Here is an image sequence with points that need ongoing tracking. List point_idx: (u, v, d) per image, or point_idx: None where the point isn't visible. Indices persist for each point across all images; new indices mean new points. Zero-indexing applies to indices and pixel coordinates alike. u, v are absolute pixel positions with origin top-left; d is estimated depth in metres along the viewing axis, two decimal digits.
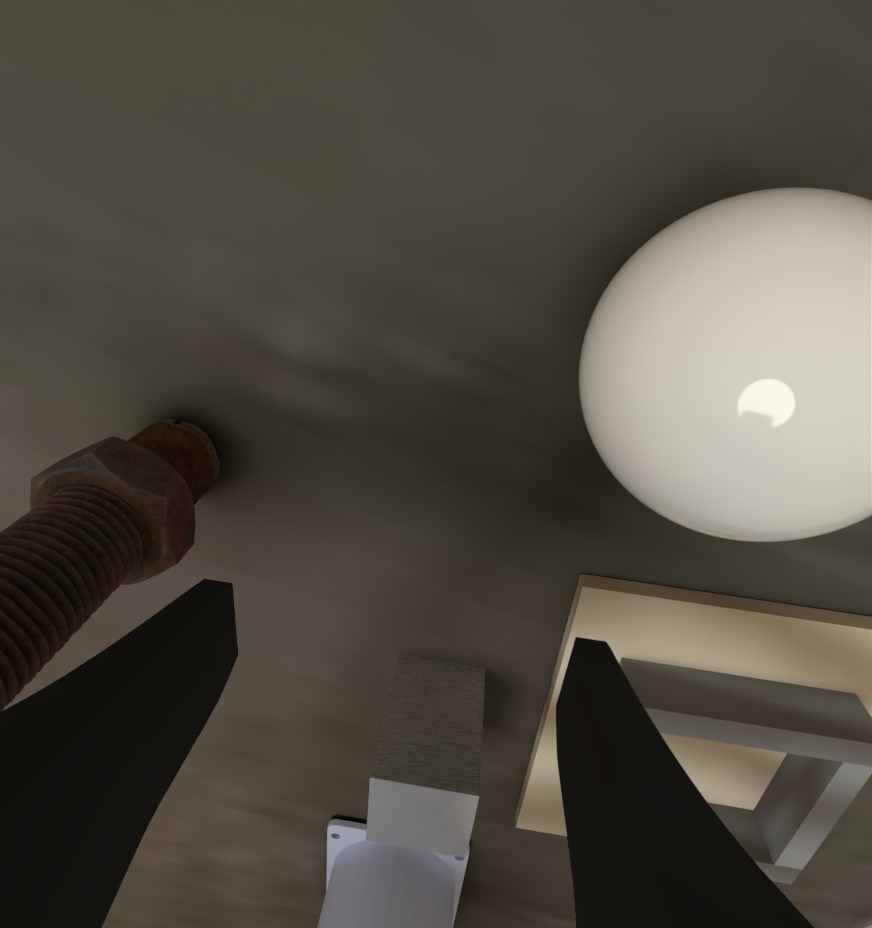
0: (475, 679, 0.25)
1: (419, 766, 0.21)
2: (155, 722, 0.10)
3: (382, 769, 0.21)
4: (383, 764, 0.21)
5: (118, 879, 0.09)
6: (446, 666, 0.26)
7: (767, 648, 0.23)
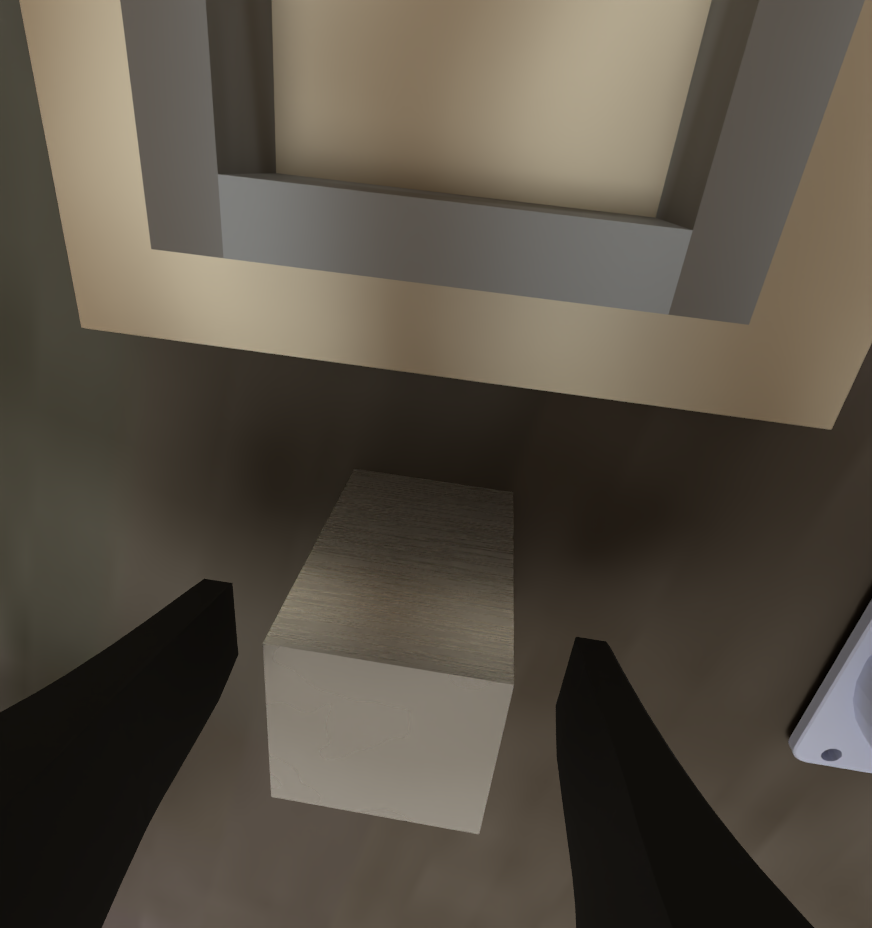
0: None
1: None
2: (155, 722, 0.10)
3: None
4: None
5: (118, 879, 0.09)
6: None
7: None
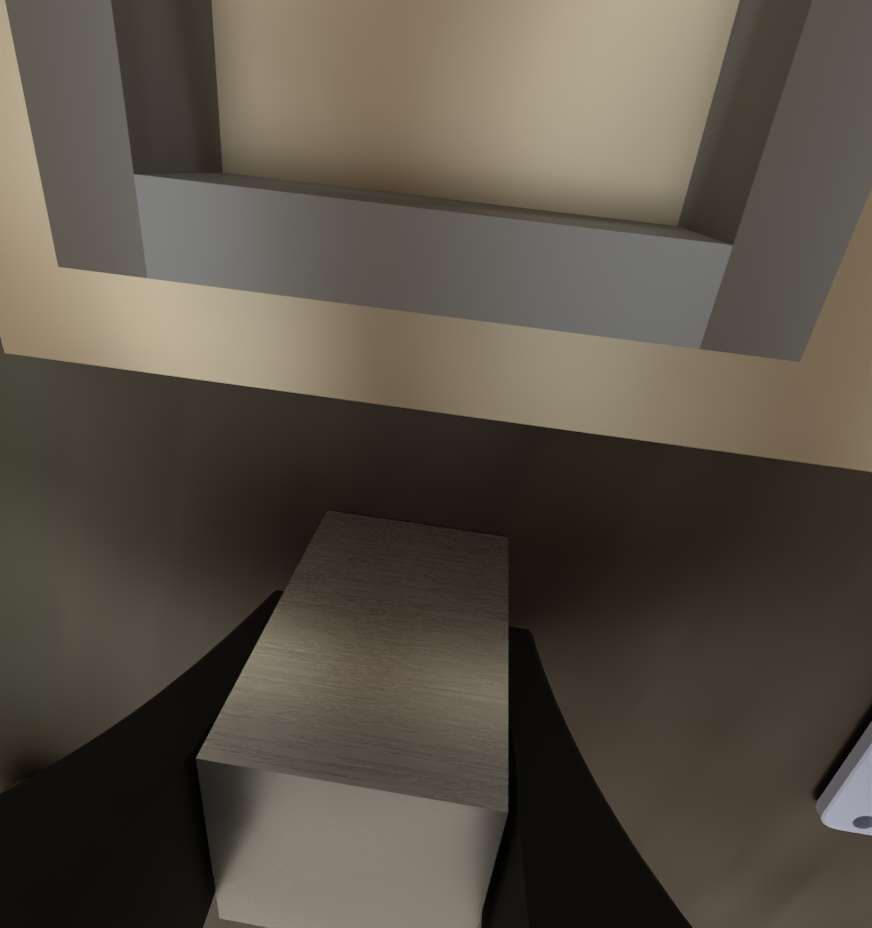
0: None
1: None
2: None
3: None
4: None
5: (210, 896, 0.09)
6: None
7: None
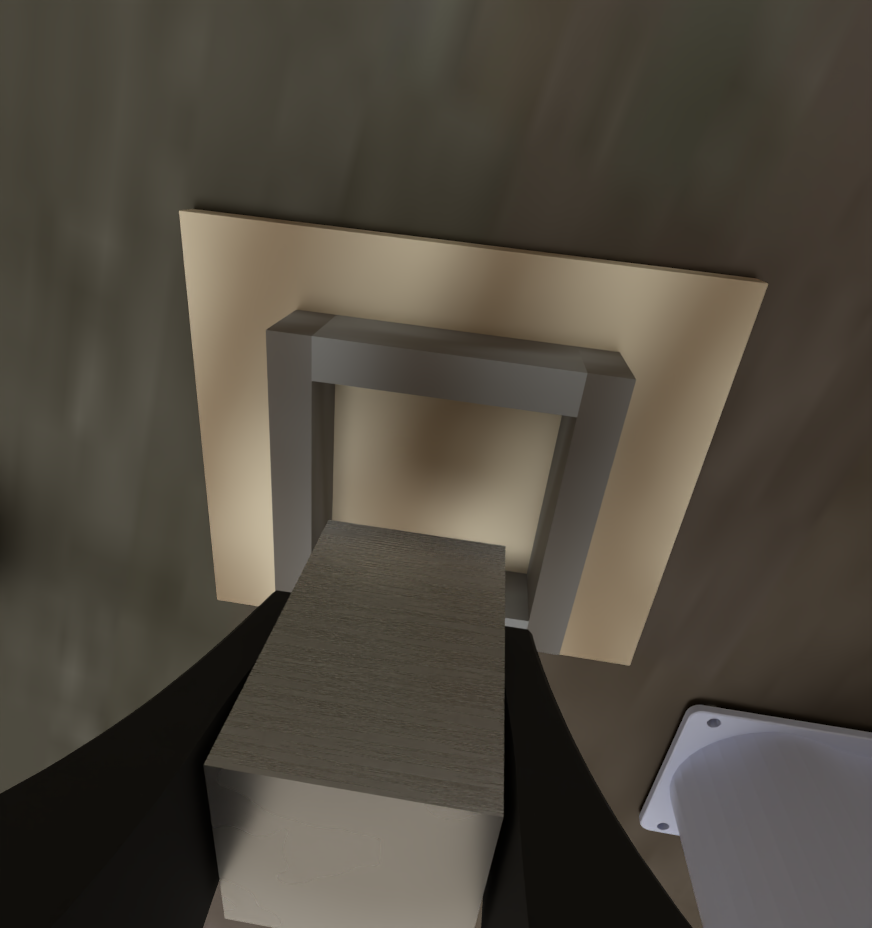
0: None
1: None
2: None
3: None
4: None
5: (210, 896, 0.09)
6: None
7: (248, 428, 0.19)
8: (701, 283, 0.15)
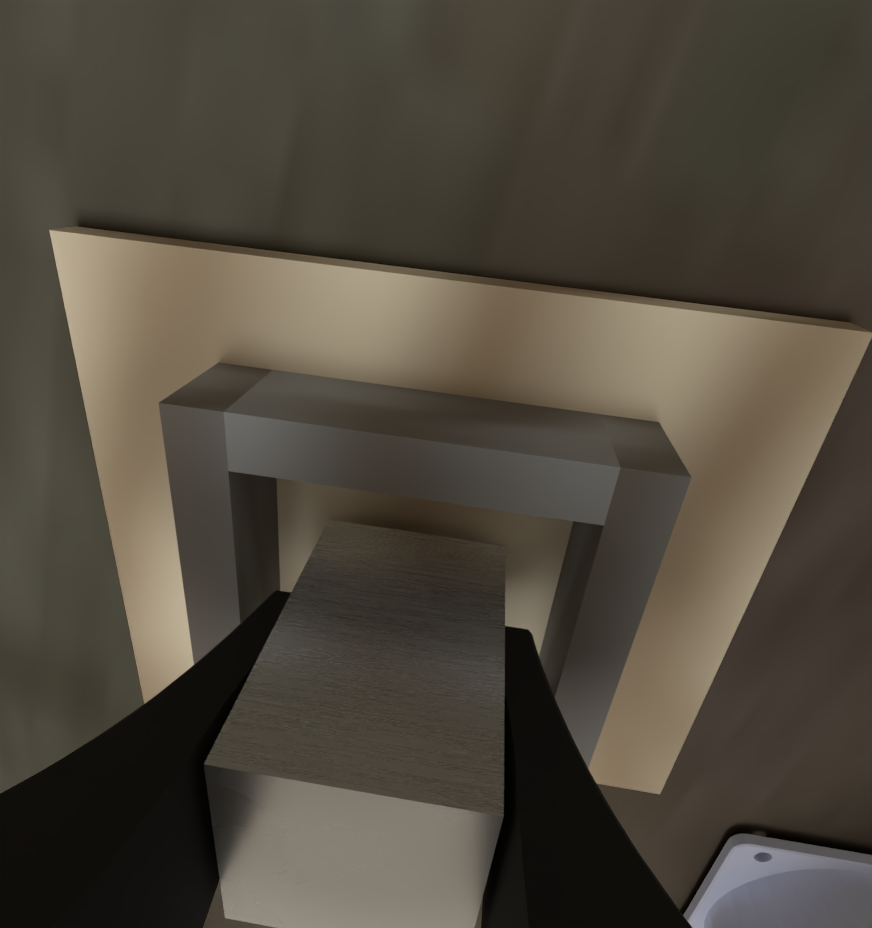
0: None
1: None
2: None
3: None
4: None
5: (210, 896, 0.09)
6: None
7: (167, 511, 0.14)
8: (778, 332, 0.11)
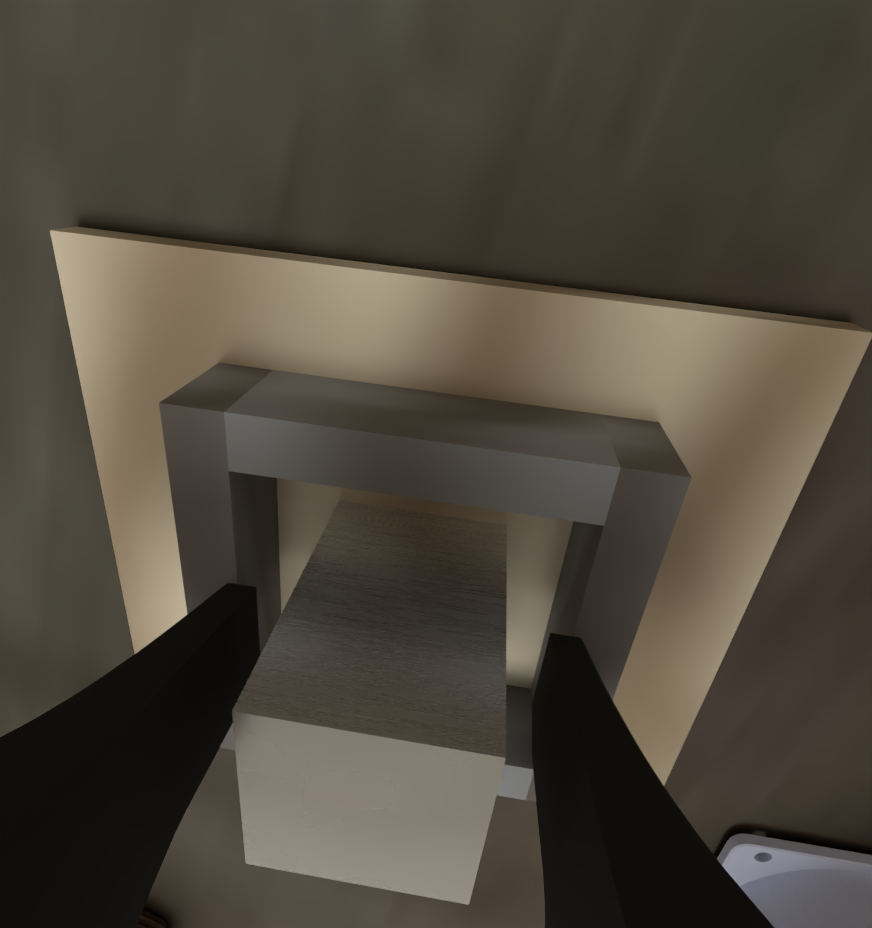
0: None
1: None
2: (184, 727, 0.10)
3: None
4: None
5: (148, 884, 0.09)
6: None
7: (167, 511, 0.14)
8: (778, 332, 0.11)
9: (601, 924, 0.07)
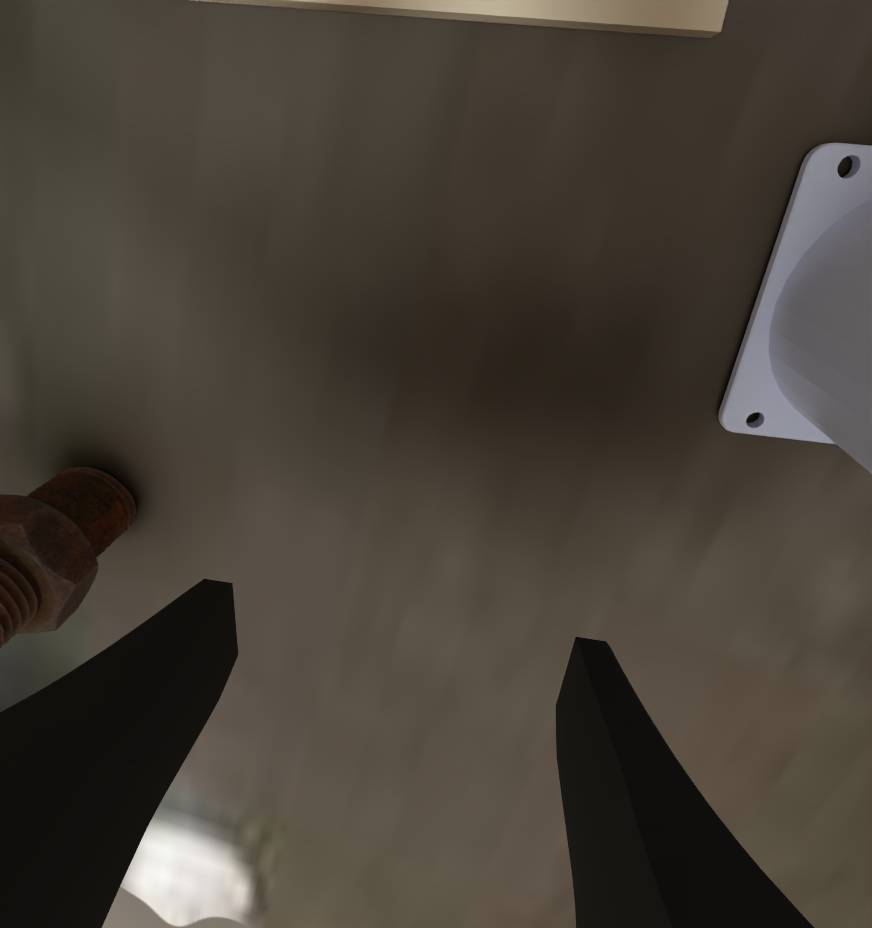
0: None
1: None
2: (155, 722, 0.10)
3: None
4: None
5: (118, 879, 0.09)
6: None
7: None
8: None
9: None
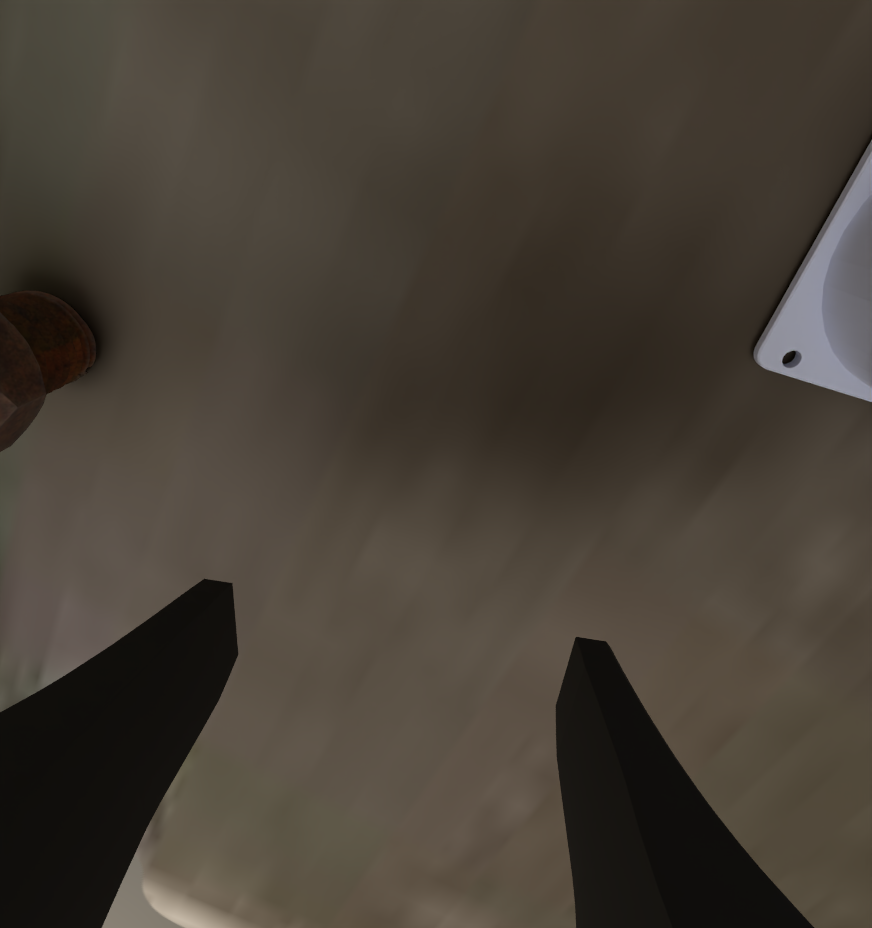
0: None
1: None
2: (155, 722, 0.10)
3: None
4: None
5: (118, 879, 0.09)
6: None
7: None
8: None
9: None
